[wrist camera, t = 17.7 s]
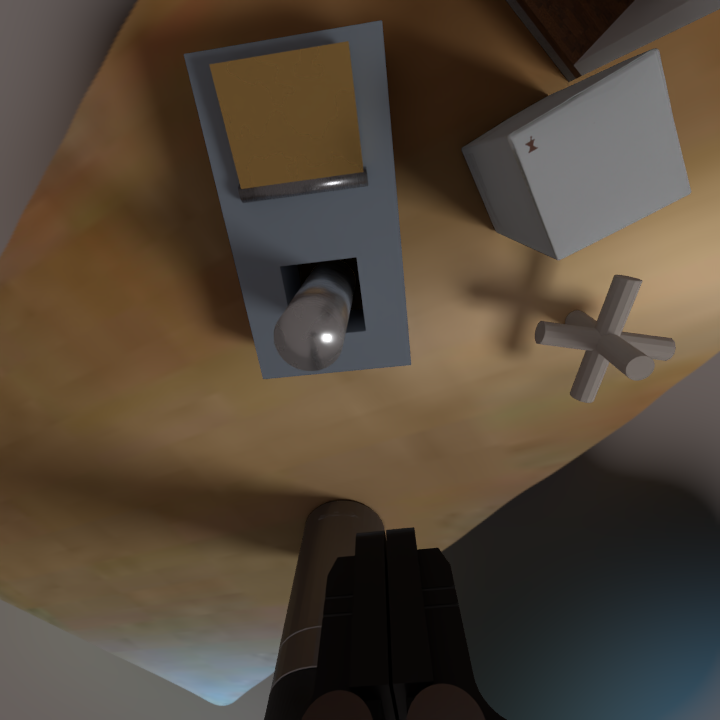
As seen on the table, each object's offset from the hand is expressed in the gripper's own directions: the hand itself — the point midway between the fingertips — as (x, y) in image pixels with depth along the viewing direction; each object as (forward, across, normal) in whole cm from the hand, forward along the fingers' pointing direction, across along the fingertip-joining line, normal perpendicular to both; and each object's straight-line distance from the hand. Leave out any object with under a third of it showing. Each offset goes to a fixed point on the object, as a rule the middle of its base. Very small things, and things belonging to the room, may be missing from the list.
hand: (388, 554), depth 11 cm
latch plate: (+22, +4, -13) cm, 25 cm away
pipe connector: (+28, -17, +5) cm, 33 cm away
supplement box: (+28, -12, -8) cm, 32 cm away
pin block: (+28, +4, -7) cm, 29 cm away
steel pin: (+28, +4, -2) cm, 28 cm away
